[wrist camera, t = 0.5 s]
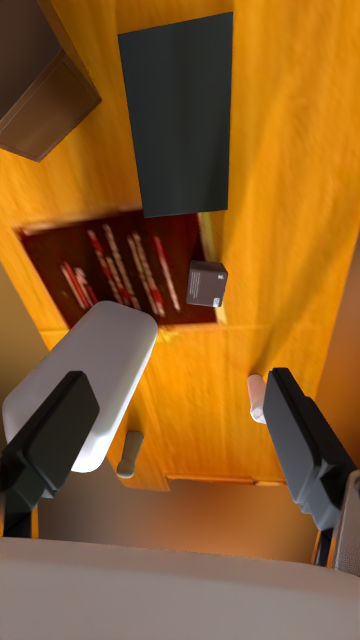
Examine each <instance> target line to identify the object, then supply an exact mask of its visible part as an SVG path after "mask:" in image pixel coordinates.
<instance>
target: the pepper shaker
mask: <svg viewBox="0 0 360 640" xmlns="http://www.w3.org/2000/svg"><path fill="white" fill-rule="evenodd" d="M143 440H144V436H143V435H142V434H141V433H140V432H137V431H130V432H128V433H127V434H126V438H125V443H124V449H123V454H122V459H121V461H120V462H119V464H118V466H117V474H118V475H119V476H120V477H122V478H130V477H132V476H133V474H134V472H135V461H136V459H137V456H138V453H139V451H140V448H141V445H142V443H143Z"/></svg>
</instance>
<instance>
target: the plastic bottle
mask: <svg viewBox="0 0 360 640" xmlns="http://www.w3.org/2000/svg"><path fill="white" fill-rule="evenodd" d="M157 334H158V326H157V323H156V321H155V320H154V319H153V318H152V317H151V316H150V315H149V314H147V313H145V312H142V311H139V310H136V309H133V308H130V307H127V306H124V305H121V304H118V303H115V302H112V301H101V302H98V303H96V304H95V305H94V306H93V307H92V308H91V309H90V310H89V311H88V312H87V313H86V314H85V315H84V316H83V317H82V318H81V319H80V320H79V322H78V323H77V324H76V325H75V326H74V327H73V328H72V329H71V330H70V331H69V332H68V333H67V334H66V335H65V336H64V337H63V338H62V339H61V340H60V342H59V343H58V344H57V345H56V346H55V347H54V348H53V349H52V350H51V351H50V352H49V353H48V354H47V355H46V356H45V357H44V358H43V360H41V362H40V363H39V364H38V365H37V366H36V367H35V368H34V369H33V370H32V371H31V372H30V373H29V374H28V375H27V376H26V377H25V378H24V379H23V380H22V381H21V383H20V384H19V385H18V386H17V387H16V388H15V389H14V390H13V391H12V392H11V393H10V394H9V395H8V396H7V398H6V399H5V401H4V403H3V407H2V412H3V422H4V429H5V434H6V438H7V442H8V444H9V442H10V441H11V440H12V439H13V438H14V436H15V435H16V434H17V433H18V432H19V430H20V429H21V428H22V427H23V426H24V424H25V423H26V422H27V421H28V420H29V418H30V417H31V416H32V415H33V414H34V412H35V411H36V410H37V409H38V408H39V406H40V405H41V404H42V403H43V402H44V400H45V399H46V398H47V397H48V396H49V394H50V393H51V392H52V391H53V390H54V388H55V387H56V386H57V385H58V384H59V382H60V381H61V380H62V379H63V378H64V376H65V375H66V374H67V373H68V372H69V371H83V372H84V373H85V374H86V375H87V378H88V380H89V382H90V385H91V387H92V390H93V392H94V394H95V397H96V399H97V402H98V404H99V406H100V412H99V415H98V417H97V419H96V421H95V423H94V425H93V427H92V429H91V431H90V433H89V435H88V437H87V439H86V441H85V443H84V445H83V447H82V449H81V451H80V453H79V455H78V457H77V459H76V461H75V463H74V465H73V467H72V469H71V470H73V471H77V472H89V471H92V470H94V469H96V468H97V467H98V466H99V465H100V464H101V463H102V461H103V459H104V457H105V455H106V453H107V450H108V448H109V446H110V444H111V442H112V439H113V437H114V435H115V433H116V431H117V428H118V426H119V424H120V422H121V419H122V417H123V415H124V413H125V411H126V408H127V406H128V404H129V402H130V400H131V397H132V395H133V393H134V391H135V389H136V386H137V384H138V382H139V380H140V378H141V375H142V373H143V371H144V369H145V367H146V364H147V362H148V360H149V358H150V355H151V352H152V349H153V346H154V343H155V340H156V337H157Z"/></svg>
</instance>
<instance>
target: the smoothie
mask: <svg viewBox="0 0 360 640" xmlns="http://www.w3.org/2000/svg"><path fill="white" fill-rule="evenodd" d="M247 383H248V389H249V396H250V402H251V410H250V412H251V415H252V418H253V419H254V420H255V421H257V422H259V423H265V424H266V421H265V418H264V415H263V403H264V397H265V391H266V383H265V382H264V380H263V378H262V377H261V376H260V375H257V374H253V375H251V376H249V377H248V379H247Z"/></svg>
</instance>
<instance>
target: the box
mask: <svg viewBox="0 0 360 640" xmlns="http://www.w3.org/2000/svg"><path fill="white" fill-rule="evenodd" d="M227 277H228V272H227V270H226V269H225V267H224V266H223V264H222V263H216V262H206V261H196V260H191V265H190V272H189V280H188V288H187V300H186V303H188V304H197V305H206V306H214V307H221V305H222V300H223V296H224V292H225V286H226V281H227Z"/></svg>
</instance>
